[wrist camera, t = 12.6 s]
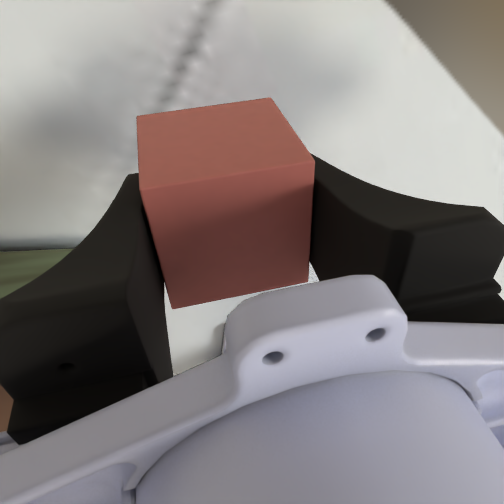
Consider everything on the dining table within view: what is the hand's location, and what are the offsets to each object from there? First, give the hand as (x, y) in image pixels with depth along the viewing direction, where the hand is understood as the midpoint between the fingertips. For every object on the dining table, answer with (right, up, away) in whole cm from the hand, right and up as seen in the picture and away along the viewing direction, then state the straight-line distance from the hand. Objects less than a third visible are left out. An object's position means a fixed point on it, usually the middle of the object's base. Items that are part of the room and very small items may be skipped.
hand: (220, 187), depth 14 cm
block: (0, +1, +1) cm, 1 cm away
